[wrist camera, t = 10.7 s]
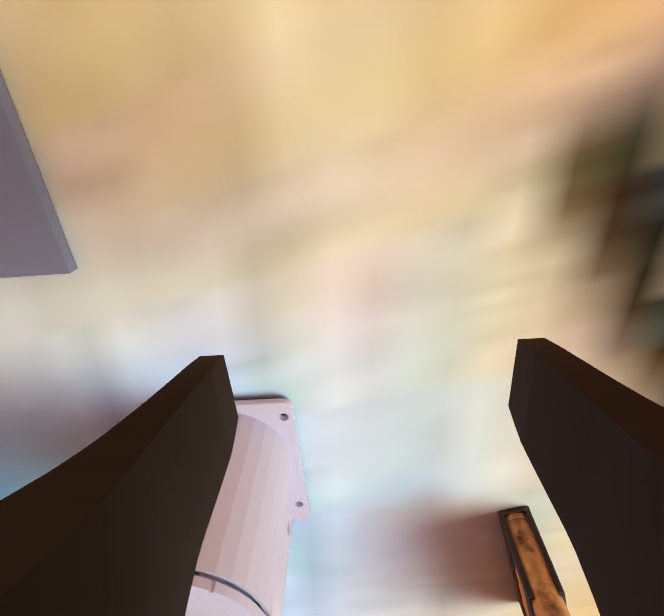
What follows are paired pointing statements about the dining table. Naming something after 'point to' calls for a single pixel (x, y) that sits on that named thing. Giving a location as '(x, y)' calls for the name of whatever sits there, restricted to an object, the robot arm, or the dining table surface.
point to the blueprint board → (26, 206)
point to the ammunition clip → (531, 565)
